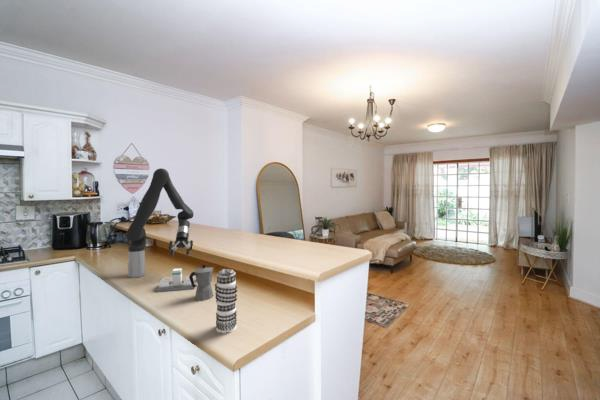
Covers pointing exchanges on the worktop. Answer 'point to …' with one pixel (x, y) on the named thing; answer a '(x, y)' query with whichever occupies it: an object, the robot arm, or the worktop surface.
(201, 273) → the coffeepot
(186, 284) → the rail panel
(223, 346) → the worktop surface
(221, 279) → the black and white cylinder
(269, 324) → the worktop surface
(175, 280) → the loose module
